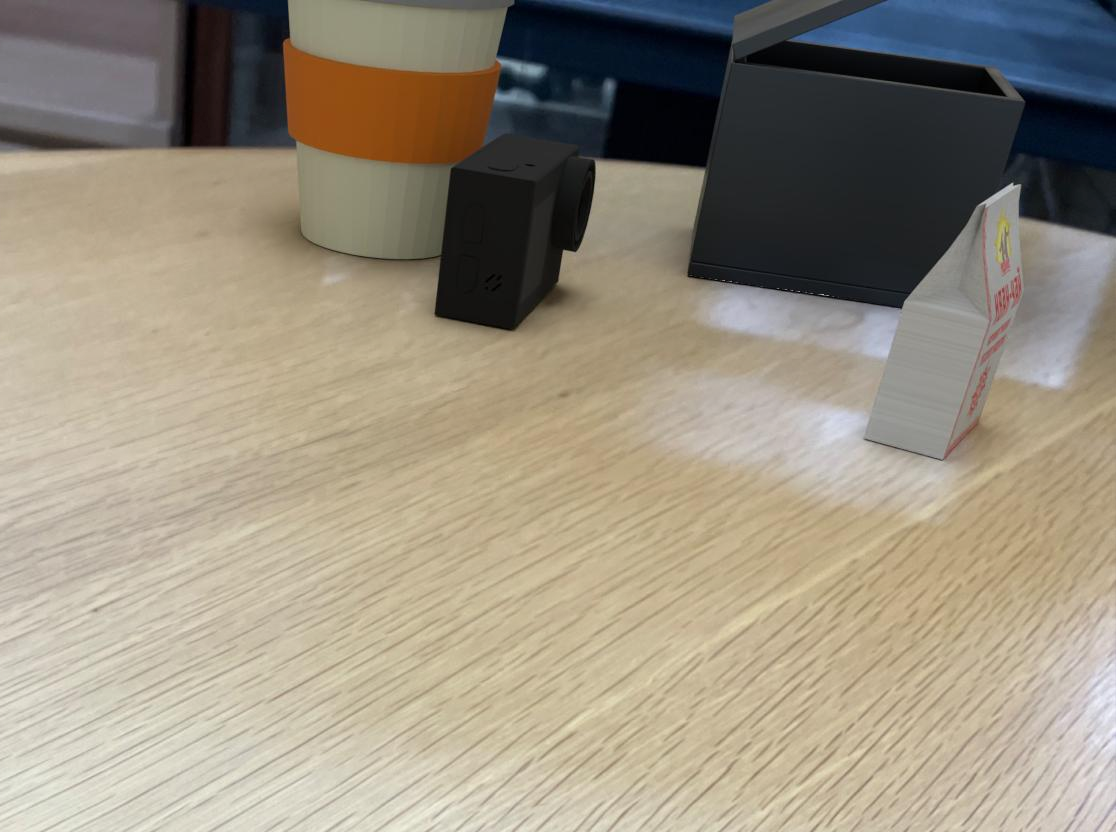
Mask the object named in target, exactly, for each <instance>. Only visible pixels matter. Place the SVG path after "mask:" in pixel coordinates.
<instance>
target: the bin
mask: <svg viewBox="0 0 1116 832" xmlns="http://www.w3.org/2000/svg"><path fill="white" fill-rule="evenodd" d="M732 41H733V38H732V40H731V42H732ZM723 78H724V79H723V83H722V87H721V93H720V97H719V101H718V106H717V111H716V116H715V122H714V126H713V131H712V136H711V139H710V145H709V150H708V154H707V155H708V156H707V160H706V164H705V169H704V173H703V178H702V179H703V180H702V183H701V189H700V193H699V194H700V195H699V198H698V203H697V209H696V213H695V218H694V223H693V227H694V228H693V230H692V236H691V242H692V243H690V250H689V257H690V258H689V259H688V265H687V272H686V275H687V274H688V275H692V276H696V277H695V278H698V277H703V278H702V279H704V278H711V279H717V280H716V281H718V280H725V281H732V282H738V283H743V284H742V285H745V284H750V285H749V286H752V285H757V286H756V287H759V286H763V287H762V288H765V287H769V288H768V289H772V288H779V289H787V290H793V291H800V292H807V293H813V294H824V295H829V296H834V297H839V298H838V299H840V298H844V299H843V300H847V299H851V300H850V301H854V300H856V301H855V302H860V301H862V302H861V303H867V302H868V303H867V304H874V305H880V306H881V305H882V306H889V307H894V308H903V305H904V301H905V300H906V299H907V298H908V297H909V295H910V294H911V293H912V292H913V291H914V290H915V288H916V287H917V286H918V285H919V284H920V282H921V281H922V280H923V279H924V278H925V277H926V275H927V274H928V273H929V272H930V271H931V269H932V268H933V267H934V266H935V265H936V264H937V262H938V261H939V260H940V259H941V258H942V257H943V255H944V254H945V253H946V252H947V251H948V249H949V248H950V247H951V245H952V244H953V243H954V241H955V240H956V239H957V237H958V236H959V235H960V233H961V232H962V230H963V229H964V228H965V226H966V225H967V223H968V221H969V220H970V218H971V216H972V214H973V212H974V211H975V209H976V207H977V206H978V205H979V204H981V203H982V202H984V201H985V200H987V199H989V198H990V197H992V196H993V195H995V194H996V193H998V189H999V187H1000V183H1001V180H1002V177H1003V175H1004V171H1005V168H1006V165H1007V162H1008V158H1009V155H1010V152H1011V149H1012V145H1013V143H1014V140H1015V136H1016V134H1017V130H1018V127H1019V124H1020V120H1021V118H1022V115H1023V112H1024V108H1025V105H1026V101H1025V100H1024V98H1023V97H1022V95H1020V94H1019V92H1018V91H1017V90H1016V89H1015V88H1014V87H1013V85H1012V84H1011V83H1010V82H1009V81H1008V79H1007V78H1006V77H1005V76H1004V74H1003V73H1002V72H1001V71H1000V70H999V68H998V67H997V66H992V65H985V64H976V63H969V62H961V61H954V60H946V59H939V58H933V57H924V56H918V55H917V56H916V55H910V54H909V55H908V54H901V53H893V52H886V51H878V50H872V49H871V50H870V49H863V48H855V47H848V46H841V45H832V44H824V43H819V42H818V43H817V42H811V41H810V42H809V41H803V40H796V39H789V40H786V41H783V42H781V43H778V44H776V45H773V46H771V47H768V48H766V49H763V50H761V51H758V52H756V53H753V54H751V55H748V56H746V57H743V58H741V59H738V60H735V57H734V52H733V47H732V43H731V45H730V49H729V54H728V59H727V63H726V69H725V73H724V77H723ZM711 279H710V280H711ZM725 281H724V282H725ZM732 282H731V283H732ZM738 283H737V284H738ZM779 289H778V290H779ZM793 291H792V292H793ZM813 294H812V295H813Z"/></svg>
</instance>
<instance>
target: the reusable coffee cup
mask: <svg viewBox="0 0 1116 832" xmlns="http://www.w3.org/2000/svg"><path fill="white" fill-rule="evenodd" d="M513 5H515V0H287V6H288V23H289V37H288V38H286V39H284V41H283V42H282V48H283V49H282V51H283V65H284V66H283V67H284V83H285V101H286V116H287V117H286V119H287V132H288V134H289V136H290V137H291V138H292V139H293V140H295V146H296V163H297V164H296V165H297V181H298V198H299V199H298V200H299V214H300V216H299V217H300V231H301V234H302V236H303V237H304V238H305V239H306V240H307V241H309V242H311V243H313V244H315V245H317V246H320V247H323V248H325V249H328V250H332V251H335V252H339V253H343V254H347V255H353V256H358V257H359V256H360V257H364V258H365V257H367V258H375V259H389V260H420V259H428V258H435V257H438V256H441V251H442V242H443V233H444V224H445V215H446V206H447V197H448V188H449V179H450V171H451V168H452V167H454V166H455V165H457V164H458V163H459V162H461V161H462V160H464V159H465V158H467V157H468V156H470V155H471V154H473V153H474V152H476V151H477V150H479V149H480V148H482V147H483V146H484V145H485V139H486V136H487V132H488V127H489V122H490V119H491V113H492V109H493V105H494V101H495V97H496V91H497V88H498V83H499V79H500V76H501V71H502V63H501V62H499V61H498V60H497V55H498V54H497V53H498V51H499V46H500V42H501V37H502V33H503V30H504V29H503V28H504V24H505V21H506V17H507V16H506V15H507V11H508V8H509V7H511V6H513Z"/></svg>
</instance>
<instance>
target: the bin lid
mask: <svg viewBox="0 0 1116 832" xmlns="http://www.w3.org/2000/svg"><path fill="white" fill-rule="evenodd" d="M887 1H888V0H770V1H767V2H765V3H763V4H760V5H758V6H755V7H752V8H750V9H748V10H746V11H743V12H741V13H738V14H736V15H734V18H733V28H732V29H733V30H732V39H733V41H732V40H731V44H732V47H733V52H734V57H735V60H738V59H741V58H743V57H746V56H748V55H751V54H753V53H756V52H758V51H761V50H763V49H766V48H768V47H771V46H773V45H776V44H778V43H781V42H783V41H786V40H792V39H793V38H796V37H798V36H802V35H804V34H806V33H809V32H811V31H813V30H816V29H819V28H821V27H825V26H826V25H829V24H831V23H834V22H836V21H839V20H841V19H844V18H847V17H849V16H853V15H854V14H857V13H859V12H861V11H864V10H866V9H869V8H871V7H874V6H877V5H880V4H882V3H884V2H887Z"/></svg>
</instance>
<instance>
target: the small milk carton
mask: <svg viewBox="0 0 1116 832" xmlns="http://www.w3.org/2000/svg"><path fill="white" fill-rule="evenodd" d="M1021 189H1022V183H1020V184H1019V183H1018V184H1016V185H1014V182H1012V183H1010V184H1008V185H1006V186H1005V187H1004V188H1002V189H1000V190H999V191H997V193H996V194H995V195H993V196H992V197H990V198H989V199H987V200H985V201H984V202H982V203H981V204H979V205H978V206H977V207H976V209H975V211H974V212H973V214H972V216H971V218H970V220H969V221H968V223H967V225H966V226H965V228H964V229H963V230H962V232H961V233H960V235H959V236H958V237H957V239H956V240H955V241H954V243H953V244H952V245H951V247H950V248H949V249H948V251H947V252H946V253H945V254H944V255H943V257H942V258H941V259H940V260H939V261H938V262H937V264H936V265H935V266H934V267H933V268H932V269H931V271H930V272H929V273H928V274H927V275H926V277H925V278H924V279H923V280H922V281H921V282H920V284H919V285H918V286H917V287H916V288H915V290H914V291H913V292H912V293H911V294H910V295H909V297H908V298H907V299H906V300H905V301H904V305H903V308H902V309H901V312H900V315H899V318H898V321H897V324H896V328H895V332H894V334H893V338H892V342H891V345H890V348H889V352H888V355H887V358H886V362H885V365H884V369H883V372H882V375H881V378H880V382H879V385H878V388H877V392H876V394H875V399H874V402H873V405H872V408H871V412H870V415H869V419H868V421H867V425H866V428H865V432H864V435H863V440H869V441H872V442H875V443H879V444H882V445H887V446H890V447H893V448H898V449H902V450H905V451H909V452H912V453H915V454H919V455H924V456H926V457H931V458H935V459H938V460H941V461H943V460H944V459H945V458H947V456H948V455H949V454H950V453H951V452H952V451H953V450H954V449H955V448H956V447H957V445H959V444H960V442H961V441H962V440H963V439H964V438H965V437H966V436H967V435H968V434H969V433H970V432H971V430H973V429H974V428H975V426H976V425H977V424H978V423H979V422H980V420H981V416H982V413H983V410H984V407H985V405H986V402H987V399H988V397H989V393H990V390H991V387H992V385H993V381H994V379H995V376H996V373H997V370H998V367H999V364H1000V361H1001V358H1002V355H1003V353H1004V350H1005V346H1006V344H1007V341H1008V338H1009V335H1010V333H1011V329H1012V327H1013V323H1014V321H1015V318H1016V315H1017V312H1018V309H1019V306H1020V303H1021V300H1022V297H1023V295H1024V292H1025V287H1024V276H1023V265H1022V263H1023V262H1022V253H1021V241H1020V232H1019V231H1020V229H1019V228H1020V227H1019V226H1020V225H1019V223H1020V222H1019V221H1020V220H1019V218H1020V217H1019V216H1020V215H1019V213H1020V210H1019V209H1020V208H1019V207H1020V205H1019V204H1020V196H1021V191H1022V190H1021Z"/></svg>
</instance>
